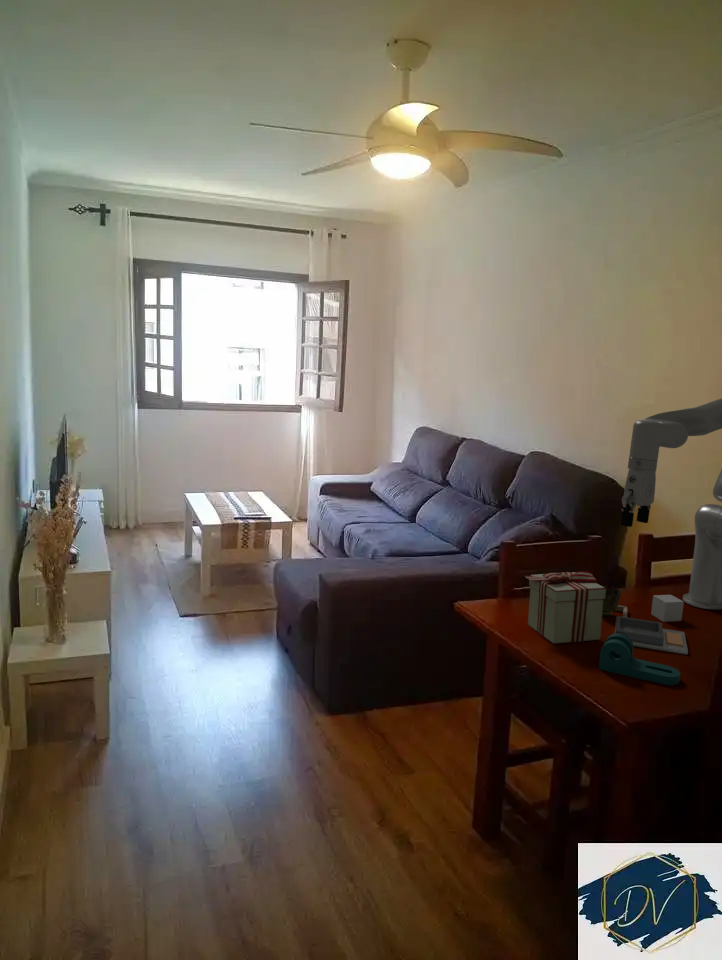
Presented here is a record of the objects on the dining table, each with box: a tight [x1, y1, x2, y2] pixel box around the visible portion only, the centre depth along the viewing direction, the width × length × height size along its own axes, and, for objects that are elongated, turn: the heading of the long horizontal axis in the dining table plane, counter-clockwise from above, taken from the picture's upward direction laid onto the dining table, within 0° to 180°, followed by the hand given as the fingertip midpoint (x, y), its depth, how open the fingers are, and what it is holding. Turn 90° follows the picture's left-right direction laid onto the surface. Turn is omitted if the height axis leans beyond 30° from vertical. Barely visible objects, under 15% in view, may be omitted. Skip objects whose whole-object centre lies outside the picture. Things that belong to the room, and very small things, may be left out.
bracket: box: [598, 632, 681, 686], centre depth 174 cm, size 18×7×8 cm, turn 61°
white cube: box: [650, 594, 685, 623], centre depth 213 cm, size 6×6×6 cm
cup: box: [601, 584, 622, 617], centre depth 212 cm, size 8×7×8 cm
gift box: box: [524, 570, 606, 645], centre depth 198 cm, size 17×18×17 cm
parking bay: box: [613, 604, 628, 618], centre depth 213 cm, size 12×12×2 cm
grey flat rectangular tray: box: [614, 615, 689, 655], centre depth 196 cm, size 14×18×3 cm
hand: (634, 523), depth 205 cm, fingers open, 9 cm apart
